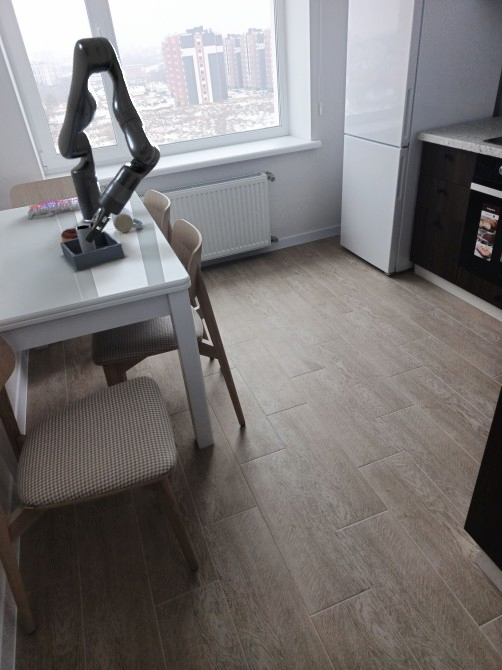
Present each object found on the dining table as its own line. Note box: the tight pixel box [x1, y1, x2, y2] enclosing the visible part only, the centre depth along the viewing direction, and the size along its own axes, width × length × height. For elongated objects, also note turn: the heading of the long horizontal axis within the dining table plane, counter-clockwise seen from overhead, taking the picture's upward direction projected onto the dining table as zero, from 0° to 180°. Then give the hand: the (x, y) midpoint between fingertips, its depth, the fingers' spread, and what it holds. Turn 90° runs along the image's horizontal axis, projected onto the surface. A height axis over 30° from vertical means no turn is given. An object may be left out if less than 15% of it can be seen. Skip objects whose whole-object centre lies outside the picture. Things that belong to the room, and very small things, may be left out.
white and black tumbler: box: [75, 224, 96, 253], centre depth 154 cm, size 4×4×10 cm
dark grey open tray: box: [59, 230, 125, 272], centre depth 156 cm, size 17×16×5 cm
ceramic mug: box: [111, 207, 144, 233], centre depth 177 cm, size 11×8×8 cm
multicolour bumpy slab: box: [27, 197, 81, 220], centre depth 207 cm, size 30×15×5 cm, turn 104°
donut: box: [60, 227, 78, 242], centre depth 171 cm, size 10×10×4 cm
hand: (88, 236), depth 153 cm, fingers open, 8 cm apart
